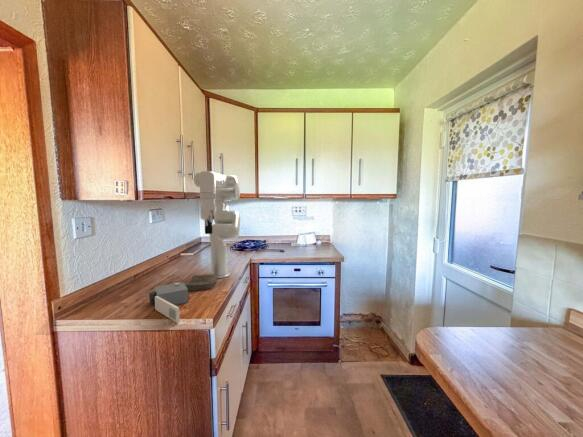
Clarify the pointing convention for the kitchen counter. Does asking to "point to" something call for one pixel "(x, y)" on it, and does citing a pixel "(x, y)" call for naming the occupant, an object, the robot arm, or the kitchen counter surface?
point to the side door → (167, 309)
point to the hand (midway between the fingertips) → (208, 233)
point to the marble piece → (201, 282)
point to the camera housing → (171, 293)
